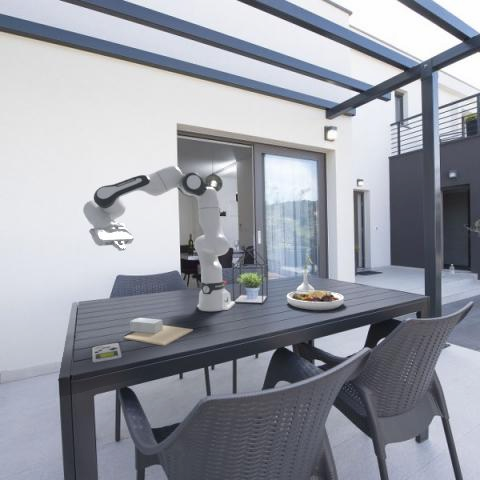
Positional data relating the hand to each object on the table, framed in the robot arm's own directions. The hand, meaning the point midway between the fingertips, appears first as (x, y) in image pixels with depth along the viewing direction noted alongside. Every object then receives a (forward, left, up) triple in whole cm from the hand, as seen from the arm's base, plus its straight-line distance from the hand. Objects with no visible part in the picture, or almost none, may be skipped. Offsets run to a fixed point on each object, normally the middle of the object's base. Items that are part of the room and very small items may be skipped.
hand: (122, 249), depth 144 cm
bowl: (-64, +73, -34) cm, 103 cm away
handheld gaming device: (+30, +21, -34) cm, 50 cm away
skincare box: (+8, +13, -31) cm, 34 cm away
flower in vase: (-94, +61, -34) cm, 117 cm away
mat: (+8, +26, -33) cm, 43 cm away
